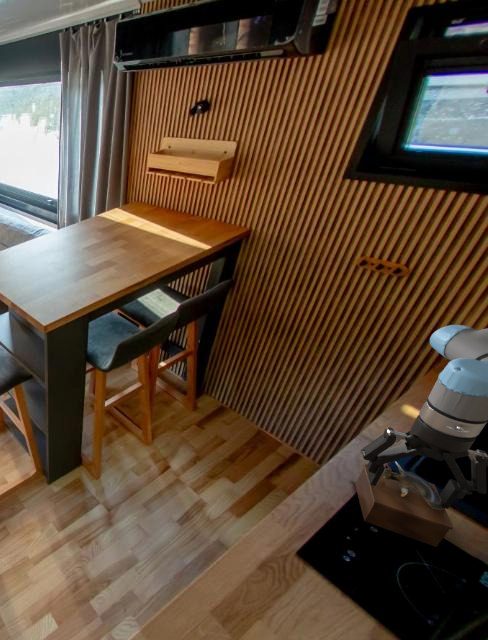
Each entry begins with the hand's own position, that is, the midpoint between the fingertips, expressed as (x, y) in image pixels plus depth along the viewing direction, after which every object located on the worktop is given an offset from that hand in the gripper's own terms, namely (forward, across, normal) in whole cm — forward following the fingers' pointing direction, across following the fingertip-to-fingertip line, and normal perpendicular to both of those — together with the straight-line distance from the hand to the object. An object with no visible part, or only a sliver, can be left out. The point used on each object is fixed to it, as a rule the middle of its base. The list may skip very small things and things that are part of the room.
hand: (405, 491), depth 84 cm
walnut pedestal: (+9, 0, 0) cm, 9 cm away
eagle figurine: (0, 0, 0) cm, 1 cm away
